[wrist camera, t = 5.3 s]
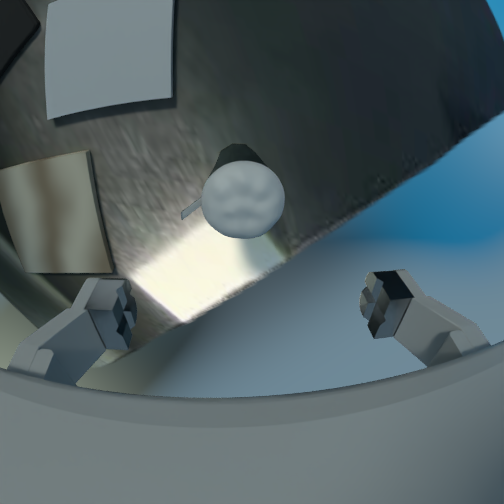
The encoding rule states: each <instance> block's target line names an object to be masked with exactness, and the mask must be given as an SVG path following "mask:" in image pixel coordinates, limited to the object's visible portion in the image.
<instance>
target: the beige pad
mask: <svg viewBox="0 0 504 504" xmlns="http://www.w3.org/2000/svg"><path fill="white" fill-rule="evenodd" d="M0 203H1V206H2V210H3V213H4V216H5V220H6V223H7V226H8V229H9V232H10V235H11V238H12V240H13V243H14V246H15V249H16V251H17V254H18V256H19V259H20V261H21V264H22V266H23V269H24V271H25V273H112V272H113V269H114V266H113V262H112V258H111V255H110V251H109V247H108V243H107V239H106V235H105V231H104V227H103V222H102V218H101V213H100V209H99V204H98V199H97V193H96V188H95V182H94V176H93V170H92V164H91V157H90V150H86V151H80V152H75V153H69V154H64V155H59V156H54V157H49V158H45V159H40V160H36V161H32V162H27V163H23V164H19V165H16V166H12V167H8V168H5V169H1V170H0Z"/></svg>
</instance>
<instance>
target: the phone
mask: <svg viewBox="0 0 504 504" xmlns="http://www.w3.org/2000/svg"><path fill="white" fill-rule="evenodd" d="M39 27H40V22H39V20H38V19H37V17H36V16H35V14H34V13H33V11H32V10H31V8H30V7H29V6H28V4H27V3H26V1H25V0H1V1H0V78H1V76H2V75H3V73H4V72H5V70H6V69H7V68H8V66H9V65H10V63H11V62H12V61H13V59H14V58H15V57H16V55H17V54H18V53H19V52H20V50H21V49H22V48H23V47H24V45H25V44H26V43H27V42H28V40H29V39H30V38H31V37H32V36H33V35H34V33H35V32H36V31H37V30H38V28H39Z"/></svg>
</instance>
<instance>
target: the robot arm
mask: <svg viewBox="0 0 504 504" xmlns="http://www.w3.org/2000/svg"><path fill="white" fill-rule="evenodd" d="M365 283H366V285H367V287H366V288H365V289H364V290H363V291H362V292H361V295H360V310H361V313H362V315H363V317H365V318H366V319H367V320H369V322H368V328H369V330H370V332H371V334H372V336H373V338H374V339H378V338H386V337H392V336H394V338H395V339H396V340H397V341H398V342H400V343H401V344H402V345H403V346H404V347H405V348H407V349H408V350H409V351H410V352H411V353H412V354H413V355H415V356H416V357H417V358H418V359H419V360H420V361H422V362H423V363H424V364H425V365H426V366H427V368H425V369H421V370H418V371H414V372H410V373H406V374H402V375H398V376H394V377H390V378H386V379H381V380H377V381H372V382H367V383H362V384H356V385H351V386H346V387H340V388H334V389H326V390H319V391H312V392H304V393H295V394H285V395H272V396H258V397H237V398H236V397H235V398H183V397H162V396H147V395H136V394H126V393H118V392H109V391H102V390H95V389H89V388H82V387H77V385H76V384H75V383H76V382H77V381H78V380H79V379H80V378H81V377H82V376H83V375H84V373H85V372H86V371H87V370H88V369H89V368H90V367H91V366H92V365H93V364H94V363H95V361H96V360H97V359H98V358H99V357H100V356H101V355H102V354H103V353H104V352H105V351H106V349H120V350H128V349H129V345H130V342H131V338H132V333H131V330H130V329H131V328H132V327H134V326H135V324H136V320H137V305H136V301H135V298H134V297H132V296H131V295H130V292H131V289H132V287H131V284H130V281H129V280H128V279H123V278H88V279H86V281H85V283H84V284H83V286H82V288H81V290H80V292H79V293H78V295H77V297H76V299H75V301H74V303H73V305H72V307H71V309H65V310H64V311H63V312H61V313H60V314H58V315H57V316H56V317H54V318H53V319H51V320H50V321H49V322H47V323H46V324H45V325H43V326H42V327H41V328H39V329H38V330H36V331H35V332H34V333H32V334H31V335H30V336H28V337H27V338H26V339H24V340H23V341H22V342H20V344H19V346H18V347H17V349H16V352H15V354H14V356H13V358H12V360H11V362H10V364H9V366H8V368H7V370H6V369H3V368H0V504H504V341H502V342H499V343H497V344H495V345H492V346H491V345H490V344H489V342H488V340H487V339H486V337H485V336H484V334H483V333H482V331H481V330H480V328H479V327H478V326H477V324H476V323H474V322H472V321H471V320H469V319H467V318H466V317H464V316H462V315H461V314H459V313H457V312H456V311H454V310H452V309H451V308H449V307H447V306H446V305H444V304H442V303H440V302H439V301H437V300H435V299H434V298H432V297H430V296H426V295H425V294H424V292H423V291H422V290H421V288H420V287H419V286H418V284H417V283H416V282H415V280H414V279H413V278H412V276H411V275H410V274H409V272H408V271H406V270H405V269H402V270H393V271H381V272H369V273H368V275H367V276H366V279H365Z"/></svg>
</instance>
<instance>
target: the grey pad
mask: <svg viewBox="0 0 504 504" xmlns="http://www.w3.org/2000/svg"><path fill="white" fill-rule="evenodd" d="M174 4H175V0H58V1H55V2H53V3H50V4H48V12H47V23H46V37H45V91H46V107H47V118H48V120H49V119H52V118H56V117H60V116H64V115H68V114H72V113H76V112H80V111H85V110H90V109H95V108H100V107H105V106H111V105H116V104H123V103H129V102H136V101H144V100H152V99H161V98H171V97H173V25H174Z"/></svg>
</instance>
